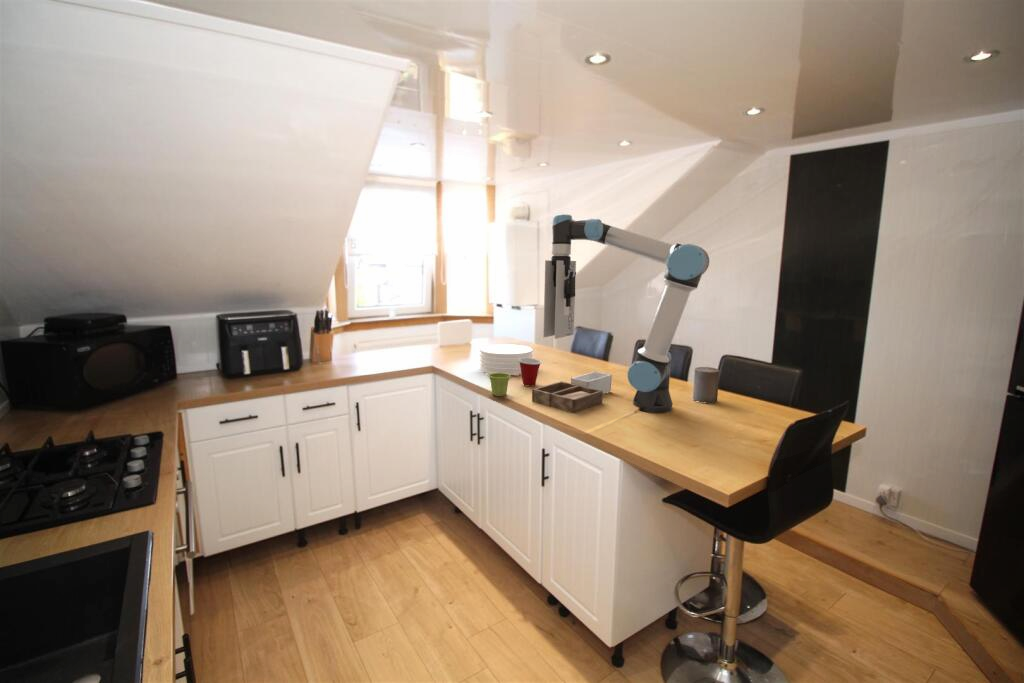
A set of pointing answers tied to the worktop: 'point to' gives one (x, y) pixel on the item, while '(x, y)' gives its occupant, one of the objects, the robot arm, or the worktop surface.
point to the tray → (553, 397)
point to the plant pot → (499, 383)
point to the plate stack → (503, 358)
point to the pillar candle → (706, 384)
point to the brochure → (557, 302)
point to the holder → (594, 381)
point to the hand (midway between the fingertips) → (559, 314)
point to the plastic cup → (529, 370)
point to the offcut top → (575, 395)
